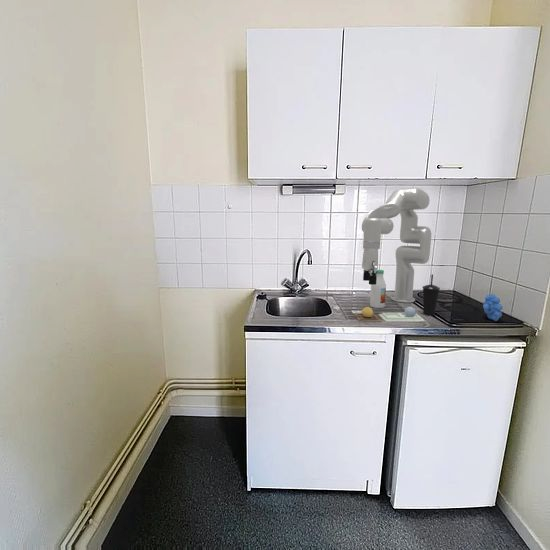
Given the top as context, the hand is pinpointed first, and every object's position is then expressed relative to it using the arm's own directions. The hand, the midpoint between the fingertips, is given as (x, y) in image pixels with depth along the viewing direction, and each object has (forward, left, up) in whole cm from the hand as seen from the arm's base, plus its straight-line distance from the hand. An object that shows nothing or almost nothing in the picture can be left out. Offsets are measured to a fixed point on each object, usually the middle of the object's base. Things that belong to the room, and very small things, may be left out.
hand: (369, 282), depth 142 cm
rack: (0, +16, -18) cm, 24 cm away
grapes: (+2, +56, -18) cm, 59 cm away
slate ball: (0, +20, -15) cm, 25 cm away
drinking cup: (-6, +32, -18) cm, 37 cm away
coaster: (0, 0, -18) cm, 18 cm away
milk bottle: (-20, +11, -18) cm, 29 cm away
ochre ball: (0, 0, -15) cm, 15 cm away
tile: (-10, -2, -18) cm, 20 cm away
